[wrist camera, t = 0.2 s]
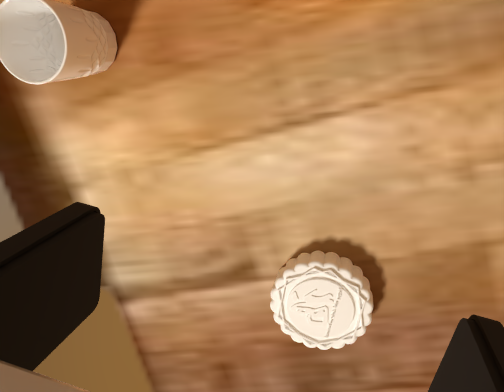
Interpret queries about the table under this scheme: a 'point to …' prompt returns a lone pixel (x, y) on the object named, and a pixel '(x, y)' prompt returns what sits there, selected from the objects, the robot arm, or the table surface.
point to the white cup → (53, 41)
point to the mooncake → (322, 300)
